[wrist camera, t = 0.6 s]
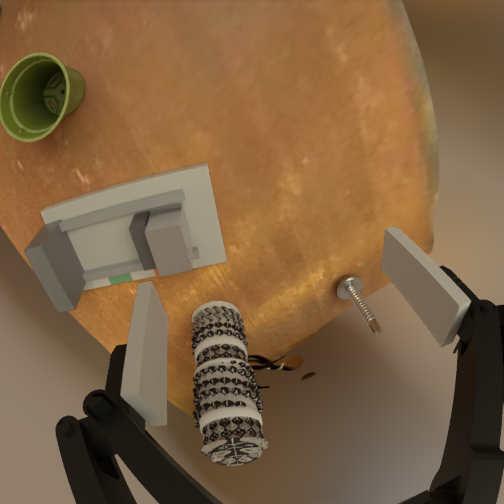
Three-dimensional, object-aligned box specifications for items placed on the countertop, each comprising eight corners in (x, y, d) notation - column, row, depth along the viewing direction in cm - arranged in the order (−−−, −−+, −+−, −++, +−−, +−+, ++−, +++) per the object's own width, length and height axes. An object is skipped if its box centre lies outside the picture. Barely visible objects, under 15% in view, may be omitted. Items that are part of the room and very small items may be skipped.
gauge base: (44, 207, 34) (17, 236, 27) (207, 162, 35) (209, 183, 28) (80, 285, 41) (65, 323, 34) (226, 255, 43) (233, 293, 36)
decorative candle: (178, 326, 49) (183, 466, 28) (208, 290, 46) (226, 443, 25) (222, 343, 53) (243, 472, 32) (253, 311, 50) (290, 449, 29)
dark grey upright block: (134, 214, 35) (128, 228, 32) (149, 210, 36) (144, 224, 32) (154, 272, 40) (152, 289, 37) (168, 269, 40) (166, 287, 37)
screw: (327, 285, 50) (347, 265, 48) (343, 295, 52) (362, 277, 50) (359, 340, 39) (384, 317, 37) (375, 348, 41) (398, 327, 39)
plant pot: (61, 142, 30) (29, 160, 23) (23, 96, 25) (-15, 104, 18) (111, 90, 28) (86, 93, 21) (70, 42, 23) (38, 35, 16)
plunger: (151, 210, 36) (144, 232, 31) (182, 203, 36) (179, 224, 31) (164, 250, 39) (160, 276, 34) (192, 244, 39) (192, 270, 34)
